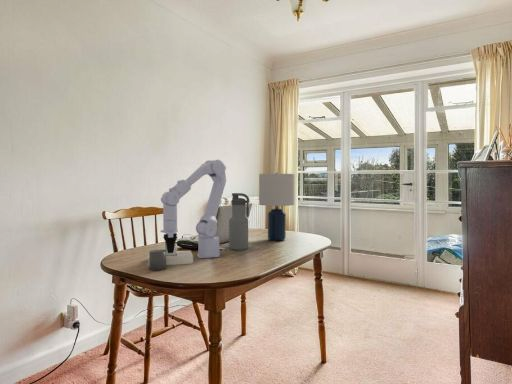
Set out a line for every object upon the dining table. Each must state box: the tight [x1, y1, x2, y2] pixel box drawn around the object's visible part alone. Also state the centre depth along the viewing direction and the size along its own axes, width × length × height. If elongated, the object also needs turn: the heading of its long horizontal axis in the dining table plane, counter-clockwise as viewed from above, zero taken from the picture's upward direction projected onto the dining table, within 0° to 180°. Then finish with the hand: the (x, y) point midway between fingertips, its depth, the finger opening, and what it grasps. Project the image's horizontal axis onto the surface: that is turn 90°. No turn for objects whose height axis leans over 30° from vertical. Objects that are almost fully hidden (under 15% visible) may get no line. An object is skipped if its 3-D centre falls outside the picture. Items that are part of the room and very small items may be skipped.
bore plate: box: [147, 250, 194, 267], centre depth 145 cm, size 18×12×3 cm, turn 105°
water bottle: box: [228, 192, 250, 251], centre depth 172 cm, size 10×10×28 cm
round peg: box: [148, 249, 167, 272], centre depth 133 cm, size 6×6×7 cm
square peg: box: [164, 241, 177, 256], centre depth 145 cm, size 4×4×7 cm
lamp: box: [258, 172, 296, 242], centre depth 196 cm, size 20×20×39 cm
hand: (170, 251), depth 145 cm, fingers closed on square peg, 4 cm apart
